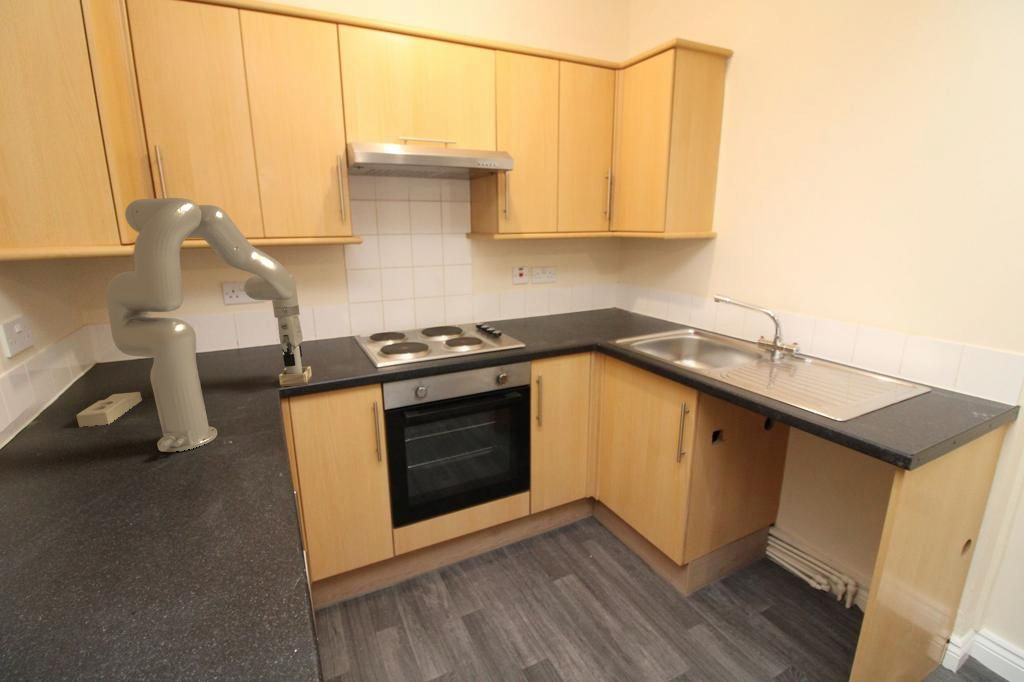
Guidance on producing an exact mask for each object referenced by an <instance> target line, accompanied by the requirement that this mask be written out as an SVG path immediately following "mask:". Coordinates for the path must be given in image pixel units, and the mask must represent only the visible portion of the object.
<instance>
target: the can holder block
mask: <svg viewBox="0 0 1024 682" xmlns="http://www.w3.org/2000/svg"><path fill="white" fill-rule="evenodd" d="M302 372H303V373H302V374H288V375H287V371H286V367H285V368H284V369H283V370H282V372H281V373H280V374H279V375H278V379H279V386H291V385H306V386H308V385H309V383H310V382H311V380H312V378H313V375H312V368H311V366H310V365H309V366H302ZM311 377H312V378H311ZM310 379H311V380H310ZM308 382H309V383H308ZM307 384H308V385H307Z"/></svg>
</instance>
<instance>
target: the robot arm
mask: <svg viewBox="0 0 1024 682" xmlns="http://www.w3.org/2000/svg"><path fill="white" fill-rule="evenodd" d="M124 216H125V220H126V222H127V224H128V226H129V227H131V229H133V230H134V231H135V232H136V233H138V235H137V236H136V240H135V243H134V248H133V249H134V250H133V254H134V269H135V270H134V271H133V270H131V271H129V270H127V271H124V272H120V273H118V274H116V275H114V276H113V277H112V278H111V280H110V281H109V283H108V286H107V289H106V303H107V305H106V306H107V311H108V312H107V313H108V317H109V325H110V331H111V332H110V333H111V336H112V337H111V338H112V340H113V343H114V345H115V346H116V349H118V350H119V352H121V353H122V354H123V355H126V356H127V355H128V356H130V357H131V356H132V357H143V358H153V363H152V364H153V365H152V366H151V368H150V369H151V370H150V374H149V375H150V377H149V378H150V383H151V387H152V391H153V396H154V400H155V405H156V409H157V414H158V419H159V423H160V426H161V430H162V435H163V436H162V437H161V438H160V439H159V440H158V441H157V443H156V446H157V448H158V450H159V451H160V452H162V453H163V452H165V453H177V452H176V451H179V452H185V451H189V450H188V449H190V450H193V448H194V449H196V447H197V448H199V446H200V447H202V446H204V444H205V445H207V444H208V443H210V442H212V441H214V440H215V438H216V437H217V436H218V430H217V429H216V428H215V427H213V426H210V425H209V422H208V417H207V412H206V406H205V400H204V397H203V390H202V387H201V381H200V380H201V379H200V377H199V371H198V365H197V354H196V353H197V352H196V350H197V336H196V331H195V329H194V327H193V326H191V324H190V323H188V322H187V321H185V320H183V319H179V318H174V317H159V316H158V317H157V316H156V317H155V316H154V317H152V315H151V313H167V312H174V311H176V310H178V309H180V308H181V306H182V305H183V302H184V288H183V287H184V285H183V277H182V271H181V269H182V268H181V257H180V256H181V255H180V253H181V252H180V251H181V249H182V245H183V243H184V242H185V241H186V239H202V240H204V241H205V242H206V243H207V245H209V247H211V249H212V250H213V251H214V253H216V254H217V256H218V257H219V258H220V259H221V261H222V262H223V263H225V264H226V265H228V266H230V267H232V268H234V269H236V270H241V271H243V272H247V273H250V274H253V276H251V277H249V278H248V279H246V281H245V284H244V285H243V286H244V293H245V294H246V296H247V297H249V298H250V299H252V300H256V301H271V302H272V308H273V316H274V318H277V328H278V336H279V341H280V342H279V344H280V347H281V348H282V357H283V358H282V359H283V362H284V365H283V366H284V367H285V368H286V367H288V366H295V365H296V364H295V357H294V354H293V346H295V347H297V346H299V350H300V357H301V358H302V357H303V354H302V353H303V351H302V345H301V343H302V342H303V340H304V339H303V333H302V326H301V321H300V319H299V316H300V314H301V313H300V307H299V299H298V290H297V285H296V277H295V275H294V274H293V273H291V272H288V270H287V269H286V268H285V266H283V264H282V263H280V262H279V261H277V259H275V258H273V257H271V256H270V255H269V254H267V253H265V252H264V251H262V250H260V249H259V248H256V247H255V246H253V245H252V244H251V242H250V241H249V240H248V239H247V238H246V237H245V235H244V234H243V233H242V231H240V229H239V228H238V226H237V225H236V224H235V222H234V221H233V220H232V219H231V217H230V216H229V214H227V213H226V211H225V210H223V209H222V208H221V207H219V206H216V205H211V204H197V203H196V202H195V201H192V200H191V199H188V198H187V199H186V198H183V197H161V198H160V197H159V198H141V199H136V200H133V201H131V202H130V203H129V204H128V205H127V207H126V208H125V213H124ZM289 348H290V349H289ZM184 450H185V451H184Z"/></svg>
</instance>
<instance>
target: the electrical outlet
mask: <svg viewBox="0 0 1024 682" xmlns="http://www.w3.org/2000/svg"><path fill="white" fill-rule="evenodd" d="M141 394H142V393H141V391H135V392H124V393H114V394H112V395H109V396H108V397H107V398H105V399H101V400H97V401H95V402H94V403H93V404H91V405H90V406H88V407H87V408H85V409H83V410H82V411H80V412H79V413H77V414H76V420H77V423H78V428H84V427H83V426H88V427H96V426H95V425H98V426H106V424H108V425H111V424H112V423H113V422H115V421H116V420H118V419H119V418H120V417H122V416H123V415H124V414H126V413H127V412H128V411H129V409H130V410H132V408H134V407H136V405H138V404H139V403H140V402H142V401H143V397H142V396H141ZM133 406H134V407H133ZM125 412H126V413H125ZM118 417H119V418H118ZM114 420H115V421H114ZM110 423H111V424H110Z"/></svg>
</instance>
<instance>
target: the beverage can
mask: <svg viewBox="0 0 1024 682" xmlns="http://www.w3.org/2000/svg"><path fill="white" fill-rule="evenodd" d="M289 349H290V348H289ZM293 354H294V357H295V364H296V365H295V366H288V367H285V368H286V371H287V375H288V374H302V373H303V372H302V367H303V365H302V359H301V358H302V357H300V350H299V346H297V347H295V346H293Z"/></svg>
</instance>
